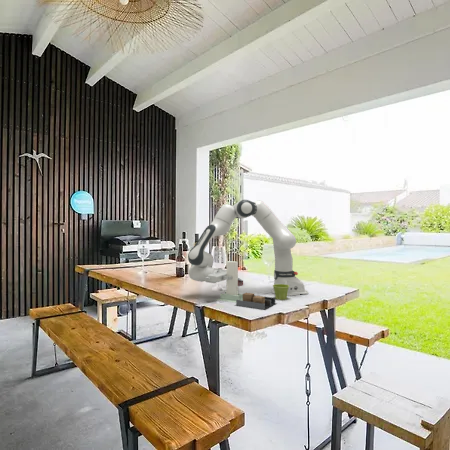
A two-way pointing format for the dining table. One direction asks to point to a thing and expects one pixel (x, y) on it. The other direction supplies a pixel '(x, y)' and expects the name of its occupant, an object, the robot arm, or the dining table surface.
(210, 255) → the robot arm
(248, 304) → the rack
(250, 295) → the offcut
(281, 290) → the plant pot
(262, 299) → the offcut
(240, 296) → the holder
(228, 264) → the panel
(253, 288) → the dining table surface
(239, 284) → the canned food
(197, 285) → the dining table surface
